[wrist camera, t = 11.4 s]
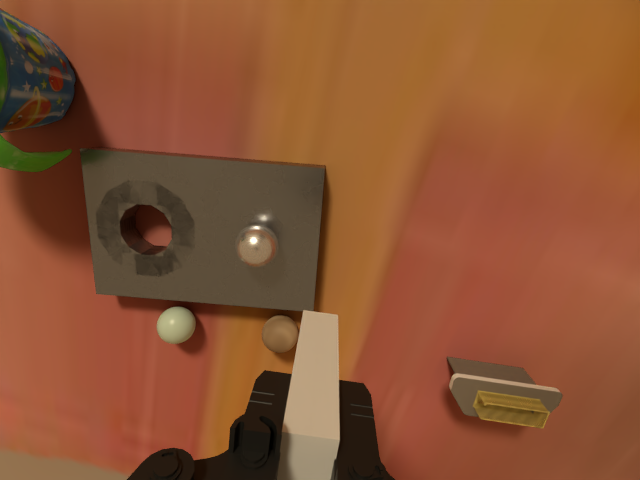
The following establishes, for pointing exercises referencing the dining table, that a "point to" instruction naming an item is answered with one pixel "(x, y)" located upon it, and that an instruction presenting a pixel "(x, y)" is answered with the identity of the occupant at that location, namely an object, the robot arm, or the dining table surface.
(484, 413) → the platform
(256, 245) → the steel ball
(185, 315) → the pale green ball
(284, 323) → the cork ball
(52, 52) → the snack cup
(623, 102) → the dining table surface
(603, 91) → the dining table surface
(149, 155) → the plate
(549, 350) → the dining table surface
